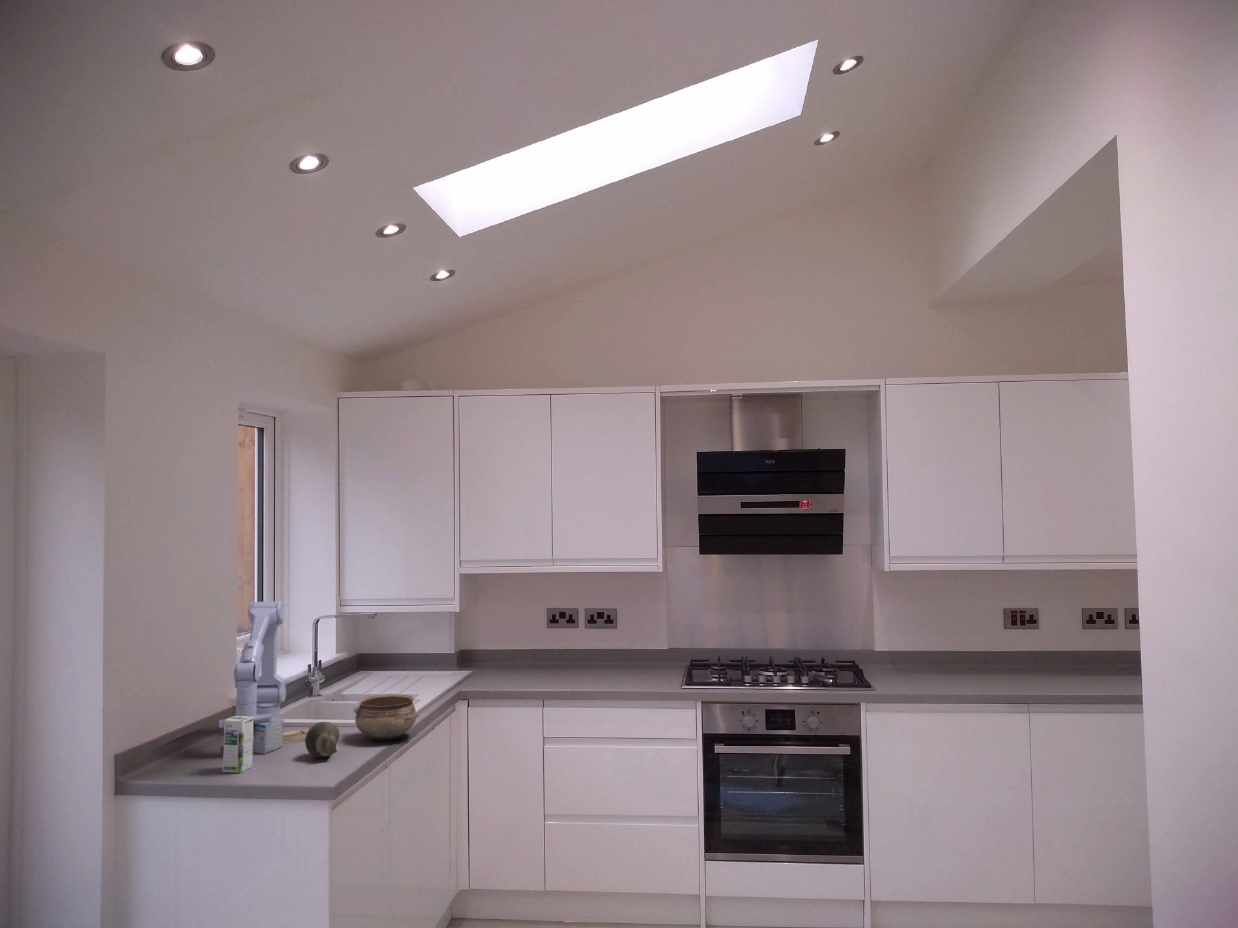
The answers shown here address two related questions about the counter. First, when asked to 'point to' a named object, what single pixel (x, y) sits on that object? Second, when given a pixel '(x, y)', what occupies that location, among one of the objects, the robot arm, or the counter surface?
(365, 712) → the cooking pot
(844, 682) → the counter surface
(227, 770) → the syrup box
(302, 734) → the pine board
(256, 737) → the medicine box
